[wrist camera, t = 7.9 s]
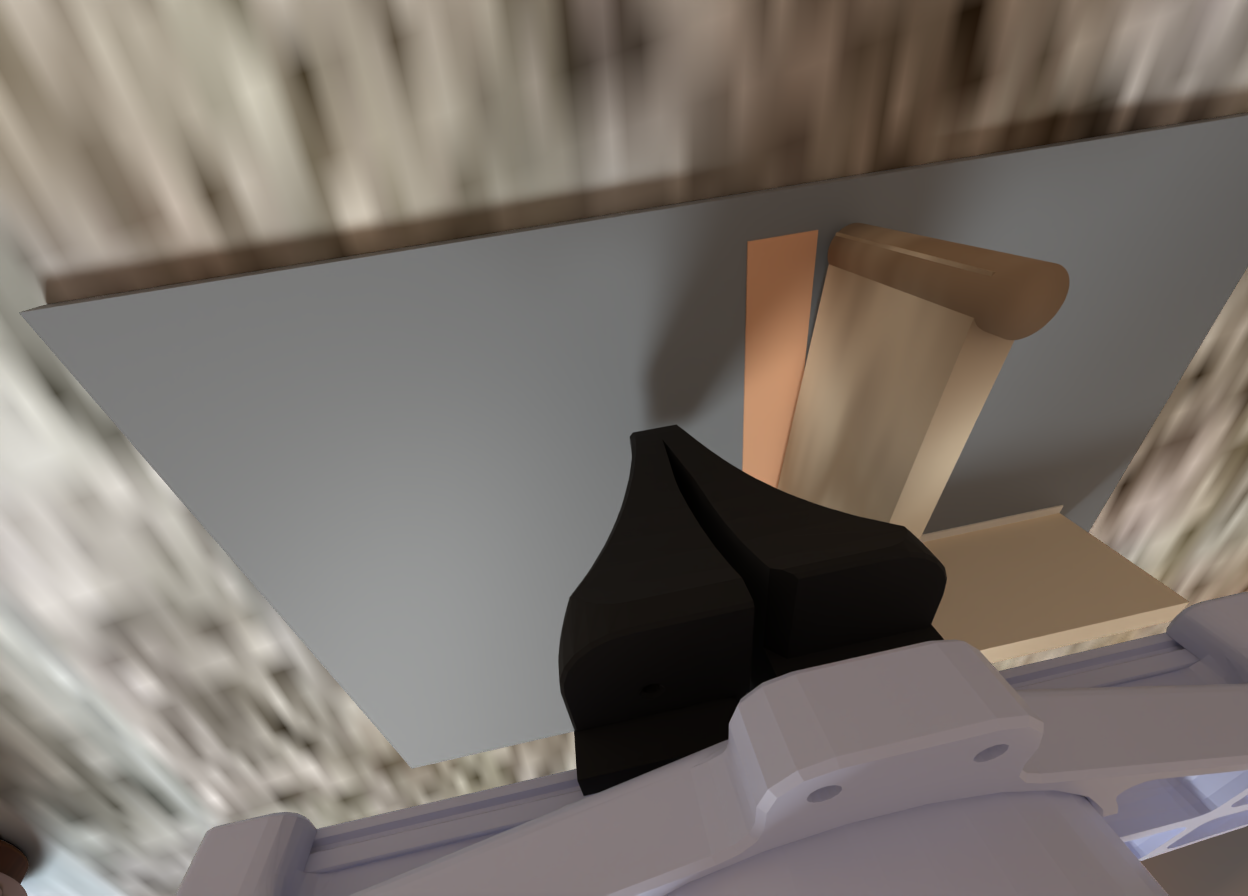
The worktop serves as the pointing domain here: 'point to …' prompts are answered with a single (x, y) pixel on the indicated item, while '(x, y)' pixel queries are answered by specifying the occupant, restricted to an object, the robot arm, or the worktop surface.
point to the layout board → (649, 408)
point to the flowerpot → (12, 870)
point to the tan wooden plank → (905, 366)
